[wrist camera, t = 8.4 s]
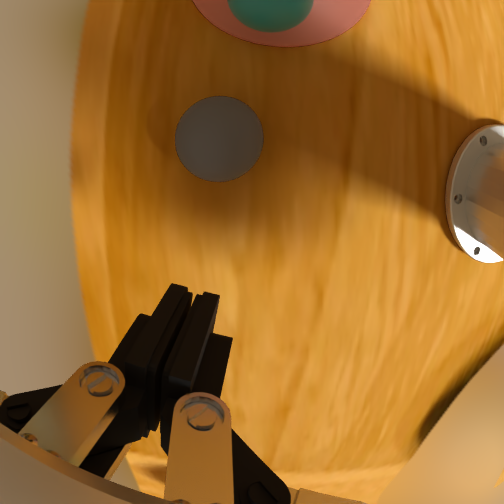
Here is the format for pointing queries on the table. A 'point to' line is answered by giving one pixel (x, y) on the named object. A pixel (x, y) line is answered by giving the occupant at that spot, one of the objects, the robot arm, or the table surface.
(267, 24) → the object ball
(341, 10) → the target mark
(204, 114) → the gray ball
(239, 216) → the table surface
